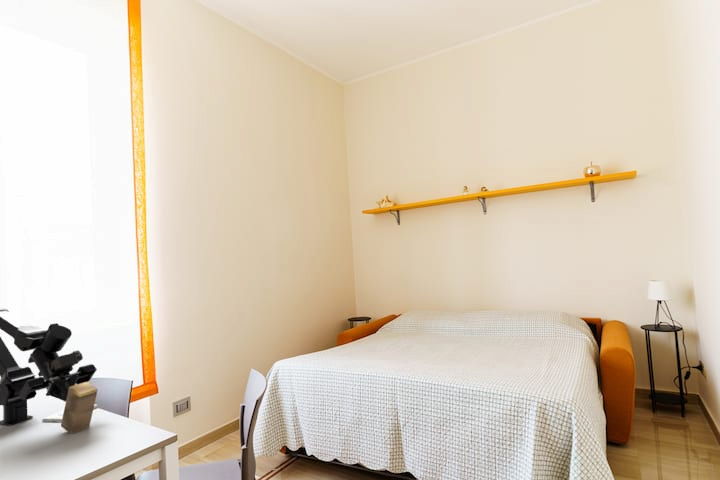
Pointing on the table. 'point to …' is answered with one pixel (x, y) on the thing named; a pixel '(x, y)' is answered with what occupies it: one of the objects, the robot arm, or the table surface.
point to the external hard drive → (58, 416)
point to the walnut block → (79, 407)
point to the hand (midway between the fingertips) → (73, 403)
